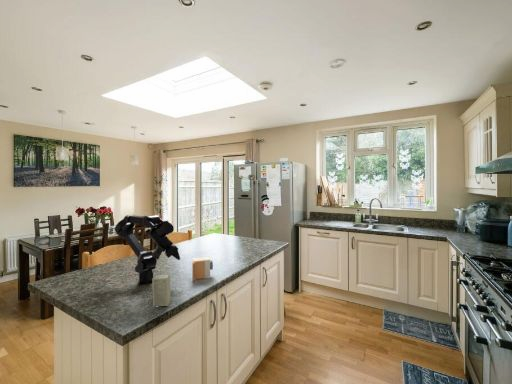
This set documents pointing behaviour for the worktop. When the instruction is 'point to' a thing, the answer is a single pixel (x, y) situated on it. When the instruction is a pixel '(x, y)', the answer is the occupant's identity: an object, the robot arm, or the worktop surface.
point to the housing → (206, 265)
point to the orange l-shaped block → (198, 270)
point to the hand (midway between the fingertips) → (179, 259)
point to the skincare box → (161, 290)
